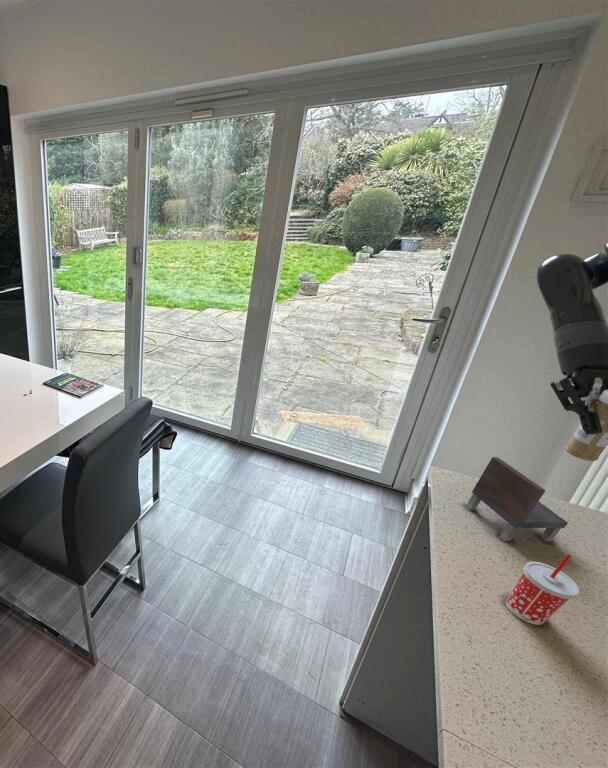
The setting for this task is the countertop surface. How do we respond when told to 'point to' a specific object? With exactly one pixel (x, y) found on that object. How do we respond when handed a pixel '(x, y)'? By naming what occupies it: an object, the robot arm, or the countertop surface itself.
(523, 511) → the chair
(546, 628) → the countertop surface
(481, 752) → the countertop surface
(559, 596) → the beverage cup
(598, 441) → the sprinkles bottle
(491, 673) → the countertop surface
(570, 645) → the countertop surface
